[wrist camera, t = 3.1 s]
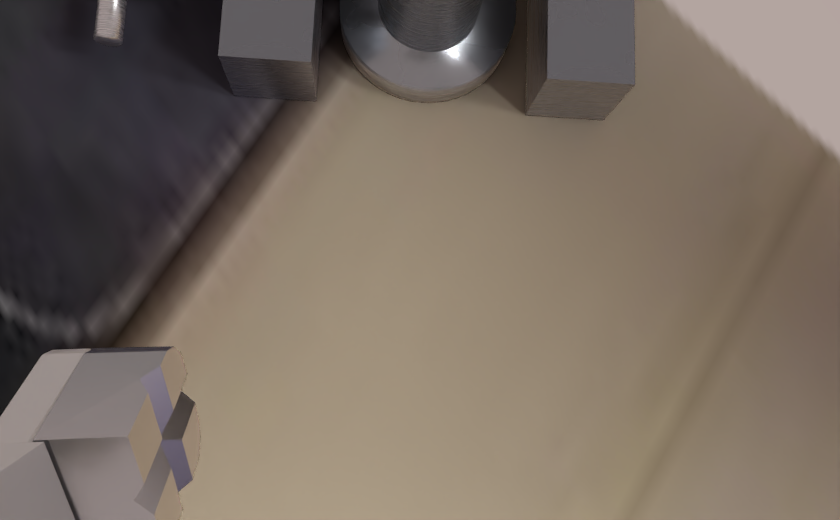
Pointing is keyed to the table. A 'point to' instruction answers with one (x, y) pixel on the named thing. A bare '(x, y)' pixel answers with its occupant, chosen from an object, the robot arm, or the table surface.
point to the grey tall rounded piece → (427, 44)
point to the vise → (545, 59)
